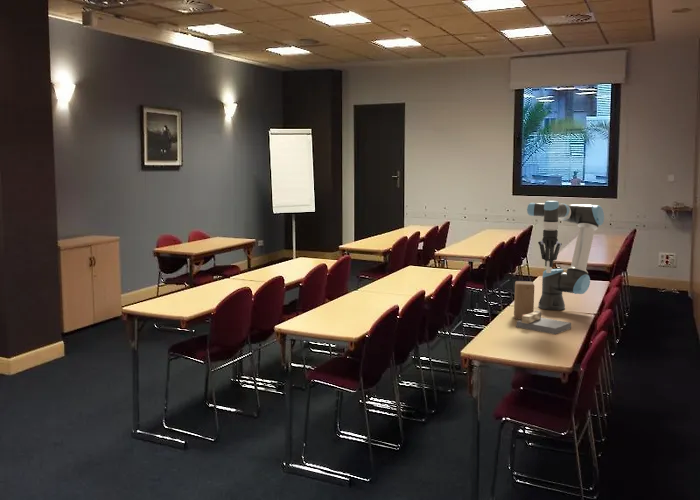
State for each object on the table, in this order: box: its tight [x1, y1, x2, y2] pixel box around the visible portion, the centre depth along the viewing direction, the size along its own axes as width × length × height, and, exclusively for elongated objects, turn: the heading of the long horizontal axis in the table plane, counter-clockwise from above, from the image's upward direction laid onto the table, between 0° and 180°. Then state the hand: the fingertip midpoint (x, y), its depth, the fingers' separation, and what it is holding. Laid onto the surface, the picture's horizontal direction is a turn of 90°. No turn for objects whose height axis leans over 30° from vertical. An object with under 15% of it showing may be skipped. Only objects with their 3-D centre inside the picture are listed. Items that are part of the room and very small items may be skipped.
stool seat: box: [515, 314, 572, 335], centre depth 345 cm, size 17×22×6 cm
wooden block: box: [513, 280, 535, 320], centre depth 366 cm, size 10×10×20 cm
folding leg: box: [521, 310, 542, 324], centre depth 347 cm, size 17×4×4 cm, turn 139°
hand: (548, 272), depth 359 cm, fingers closed
